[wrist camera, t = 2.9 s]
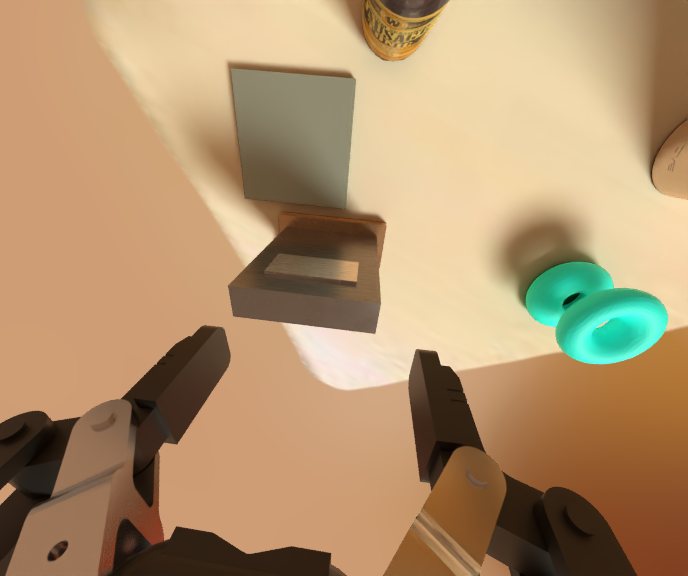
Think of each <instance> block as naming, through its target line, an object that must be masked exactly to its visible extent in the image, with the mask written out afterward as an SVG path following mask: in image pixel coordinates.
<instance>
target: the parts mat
mask: <svg viewBox="0 0 688 576" xmlns="http://www.w3.org/2000/svg"><path fill="white" fill-rule="evenodd" d="M231 76H232V85H233V94H234V103H235V112H236V122H237V131H238V140H239V149H240V158H241V167H242V176H243V185H244V194H245V198H247V199H257V200H266V201H276V202H286V203H295V204H305V205H315V206H324V207H334V208H343V209H345V207H346V196H347V183H348V171H349V159H350V147H351V134H352V122H353V110H354V98H355V85H356V79H355V78H343V77H331V76H319V75H307V74H295V73H283V72H271V71H259V70H247V69H235V68H231Z"/></svg>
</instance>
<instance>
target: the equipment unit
mask: <svg viewBox="0 0 688 576" xmlns="http://www.w3.org/2000/svg"><path fill="white" fill-rule="evenodd" d="M385 231H386V223H384V222H374V221H365V220H355V219H346V218H336V217H327V216H317V215H308V214H298V213H289V212H281V213H280V214H279V235H278V236H277V237H276V238H275V239H274V240H273V241H272V242H271V243H270V244H269V245H268V246H267V247H266V248H265V249H264V250H263V251H262V252H261V253H260V254H259V255H258V256H257V257H256V258H255V259H254V260H253V261H252V262H251V263H250V264H249V265H248V266H247V267H246V268H245V269H244V270H243V271H242V272H241V273H240V274H239V275H238V276H237V277H236V278H235V279H234V280H233V281H232V282H231V283H230V284H229V285H228V288H229V294H230V299H231V305H232V311H233V316H235V317H243V318H251V319H259V320H268V321H276V322H284V323H292V324H300V325H308V326H316V327H324V328H333V329H341V330H349V331H357V332H365V333H373V334H375V332H376V327H377V321H378V316H379V310H380V305H381V299H380V282H379V268H380V262H381V256H382V250H383V244H384V237H385Z"/></svg>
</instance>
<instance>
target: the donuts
mask: <svg viewBox="0 0 688 576" xmlns="http://www.w3.org/2000/svg"><path fill="white" fill-rule="evenodd" d="M575 293H580V294H579V296H578V297H577V298H576V299H575V300H573V301H572V302H570V303H568V304H566V305H563V302H564V300H565V299H566V298H568V297H569V296H571V295H573V294H575ZM525 302H526V308H527V310H528V312H529V314H530V315H531V316H532V317H533V318H534V319H535V320H536V321H538V322H539V323H541V324H544V325H547V326H551V327H556V340H557V343H558V345H559V346H560V348H561V349H562V350H563V351H564V352H565V353H566V354H567V355H569V356H570V357H572V358H573V359H576V360H578V361H581V362H585V363H591V364H609V363H615V362H620V361H623V360H626V359H629V358H632V357H634V356H636V355H638V354H640V353H642V352H644V351H645V350H647V349H648V348H650V347H651V346H652V345H654V344H655V343H656V342H657V341H658V340H659V339H660V337H661V336H662V335H663V333H664V331H665V329H666V327H667V323H668V314H667V311H666V308H665V306H664V305H663V304H662V303H661V301H660V300H659V299H657V298H656V297H654V296H653V295H651V294H649V293H647V292H644V291H641V290H637V289H629V288H615V289H614V285H613V281H612V278H611V276H610V275H609V273H608V272H607V271H606V270H604V269H603V268H602V267H600V266H598V265H596V264H593V263H588V262H568V263H563V264H560V265H557V266H555V267H552V268H550V269H549V270H547V271H545V272H544V273H542V274H541V275H540V276H539V277H537V278H536V279H535V280H534V282H533V283H532V284H531V286H530V287H529V289H528V291H527V294H526V301H525ZM607 320H609V321H608V322H607V323H606V324H605V325H603V326H601V327H599V328H597V327H598V326H599V325H600V324H602V323H604V322H605V321H607Z"/></svg>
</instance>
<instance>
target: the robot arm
mask: <svg viewBox="0 0 688 576" xmlns="http://www.w3.org/2000/svg"><path fill="white" fill-rule="evenodd" d="M652 178H653V183H654V185H655V187H656V188H657V190H658V191H660V192H661V193H662V194H664V195H667V196H670V197H675V198H680V199H685V200H688V119H687V120H686V121H685V122H684V123H683V124H681V125H680V126H679V127H678V128H677V129H676V130H675V131H674V132H673V133H672V134H671V135H670V136H669V137H668V139H667V140H666V142H665V143H664V144H663V146H662V147H661V149H660V151H659V153H658V154H657V156H656V159H655V162H654V165H653V171H652ZM229 363H230V350H229V346H228V342H227V338H226V334H225V330H224V329H223V328H222V327H215V326H206V325H204V326H202V327H200V329H198V330H197V331H196V333H195V334H194V335H193V336H192V337H191V336H188V337H187V338H185V339H183V340H182V341H180V342H178V343H177V344H175V345H174V346H173V347H172V348H171V349H170V350H169V351H168V352H167V353H166V356H163V357H162V358H161V359H160V360H159V361H158V362H157V365H154V367H152V368H151V369H150V370H149V371H148V372H147V373H146V375H144V377H142V378H141V379H140V381H138V382H137V383H136V384H135V385H134V386H133V387H132V388H131V390H129V391H128V393H126V394H125V395H124V396H123V397H122V398H121V399H116V400H111V401H107V402H104V403H102V404H100V405H98V406H96V407H94V408H92V409H91V410H89V411H88V412H87V413H85V414H84V415H83V416H82V417H77V418H71V419H65V420H58V421H52V420H51V419H50V418H49V417H48V416H47V414H46V413H44V412H42V411H31V412H27V413H23V414H20V415H17V416H14V417H12V418H10V419H8V420H6V421H4V422H2V423H1V424H0V490H1V489H2V488H3V487H4V486H5V485H6V484H7V483H10V484H11V485H12V486H13V487H15V488H16V490H15V491H14V492H13V493H12V494H11V495H10V496H9V497H8V498H7V499H6V500H5V501H4V502H3V503H2V504H1V505H0V576H346V575H345V574H344V573H343V572H342V571H341V570H339V569H338V568H336V567H335V566H333V565H331V553H327V552H321V551H315V550H310V549H304V548H298V547H292V546H291V547H286V548H281V549H275V550H270V551H265V552H259V553H254V554H246V553H244V552H242V551H240V550H239V549H237V548H236V547H234V546H233V545H231V544H230V543H228V542H227V541H225V540H223V539H222V538H220V537H219V536H217V535H216V534H214V533H211V532H206V531H200V530H194V529H188V528H182V527H176V528H175V530H174V532H173V534H172V536H171V538H170V539H168V540H165V541H164V533H163V527H162V523H161V520H160V516H159V463H160V461H159V460H160V456H159V452H158V450H159V449H160V447H161V446H162V444H163V443H171V444H178V442H179V441H180V439H181V438H182V436H183V434H184V433H185V432H186V430H187V429H188V427H189V425H190V424H191V422H192V421H193V419H194V418H195V416H196V415H197V413H198V412H199V410H200V409H201V407H202V406H203V404H204V403H205V401H206V400H207V398H208V397H209V395H210V394H211V392H212V391H213V389H214V388H215V386H216V385H217V383H218V382H219V380H220V379H221V377H222V376H223V374H224V372H225V371H226V370H227V368H228V366H229ZM409 397H410V405H411V413H412V421H413V429H414V435H415V436H414V437H415V444H416V452H417V459H418V468H419V476H420V482H427V483H430V486H431V493H430V495H429V497H428V499H427V500H426V502H425V504H424V506H423V508H422V509H421V511H420V513H419V515H418V516H417V517H416V519H415V520H414V522H413V523H412V525H411V527H410V529H409V530H408V532H407V534H406V536H405V538H404V540H403V541H402V543H401V545H400V546H399V549H398V550H397V552H396V554H395V555H394V557H393V559H392V561H391V563H390V565H389V566H388V568H387V570H386V571H385V573H384V575H383V576H480V570H481V567H482V564H483V561H484V558H485V555H486V554H488V555H490V556H491V557H493V558H495V559H497V560H498V561H500V562H502V563H503V564H505V565H507V566H509V570H510V573H511V576H637V574H636V573H635V571H634V569H633V567H632V565H631V564H630V562H629V560H628V559H627V556H626V555H625V553H624V551H623V549H622V547H621V546H620V544H619V542H618V540H617V539H616V537H615V535H614V533H613V532H612V530H611V528H610V526H609V525H608V523H607V521H606V520H605V519H604V517H603V516H602V515H601V514H600V513H599V511H598V510H597V509H596V508H595V507H594V506H593V505H591V503H589V502H588V501H587V500H586V499H584V498H583V497H581V496H580V495H578V494H577V493H575V492H573V491H571V490H569V489H566V488H562V487H552V488H549V489H548V490H547V491H546V492H545V493H543V492H541V491H539V490H537V489H535V488H533V487H530V486H528V485H526V484H524V483H522V482H520V481H517V480H515V479H514V478H512V477H510V476H508V475H507V474H505V473H504V472H503V471H501V469H500V468H499V466H498V465H497V463H496V462H495V461H494V460H493V459H492V458H491V457H490V456H489V455H487V454H486V452H485V450H484V448H483V445H482V443H481V440H480V437H479V434H478V431H477V428H476V425H475V422H474V419H473V417H472V414H471V411H470V408H469V405H468V404H467V399H466V397H465V394H464V393H463V388H462V385H461V382H460V379H459V377H458V376H457V375H456V374H455V372H454V371H453V370H452V369H451V367H450V366H441V364H440V361H439V357H438V354H437V352H436V351H429V350H419V349H417V350H416V351H415V355H414V359H413V363H412V367H411V371H410V375H409Z"/></svg>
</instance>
